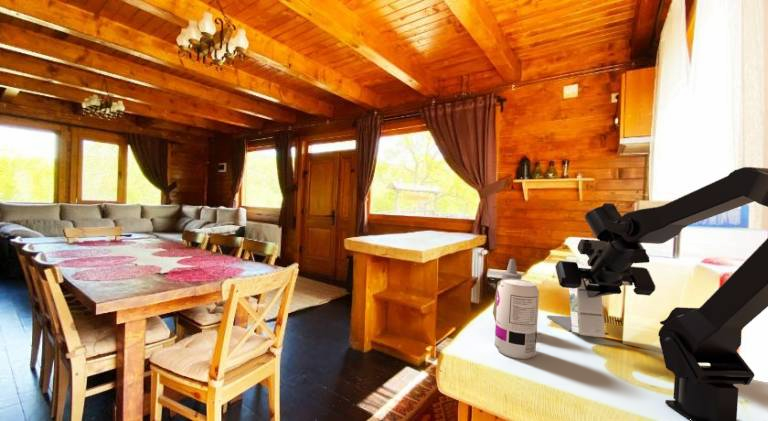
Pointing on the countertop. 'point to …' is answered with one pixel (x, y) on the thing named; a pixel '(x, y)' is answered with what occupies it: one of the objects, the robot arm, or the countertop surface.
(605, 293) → the robot arm
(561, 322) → the slate mat
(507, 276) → the squeeze bottle
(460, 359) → the countertop surface
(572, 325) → the syrup box
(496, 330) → the supplement can
